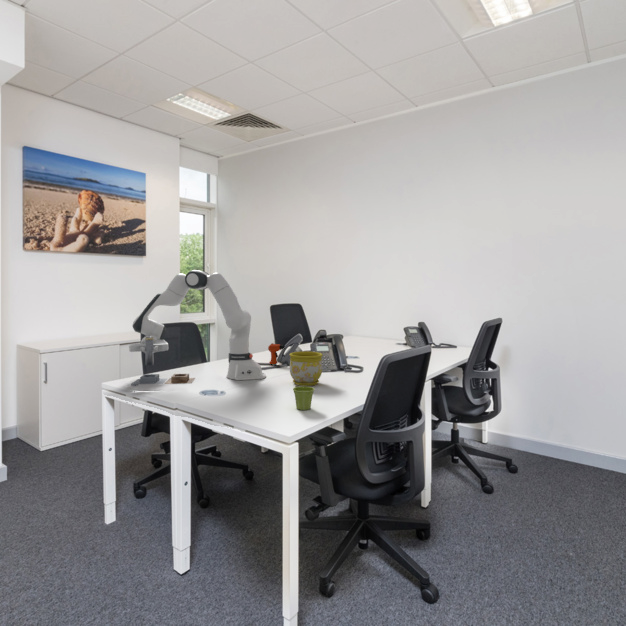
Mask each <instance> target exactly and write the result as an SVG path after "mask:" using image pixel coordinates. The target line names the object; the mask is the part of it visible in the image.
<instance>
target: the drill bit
mask: <svg viewBox="0 0 626 626" xmlns="http://www.w3.org/2000/svg"><path fill="white" fill-rule="evenodd" d="M144 337H145V348H146V349H145V350H146V351H145V353H144V354H145V366H154V362H155V361H154V360H155V359H154V353H153V337H146V336H144Z"/></svg>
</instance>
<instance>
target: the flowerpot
mask: <svg viewBox="0 0 626 626" xmlns="http://www.w3.org/2000/svg"><path fill="white" fill-rule="evenodd" d="M289 357H290V362H289V373H290V377H291V378H292V379H293V380H292V382H293V383H294V385H296V386H298V387H313V386H317V385H318V383H319V382H320V381H319V380H320V378H321V377H322V372H323V362H322V361H323V359H322V357H323V352H322V353H321V352H318V351H305V350H303V351H294V352H290V353H289Z"/></svg>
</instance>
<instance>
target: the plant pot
mask: <svg viewBox="0 0 626 626" xmlns="http://www.w3.org/2000/svg"><path fill="white" fill-rule="evenodd" d="M292 391H293V393H294V398H295V399H294V400H295V405H296V409H297V410H300V411H308V410H311V406H312V402H313V401H312V400H313V394H314V391H315V388H314V387H313V386H295V387H293V388H292Z"/></svg>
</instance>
